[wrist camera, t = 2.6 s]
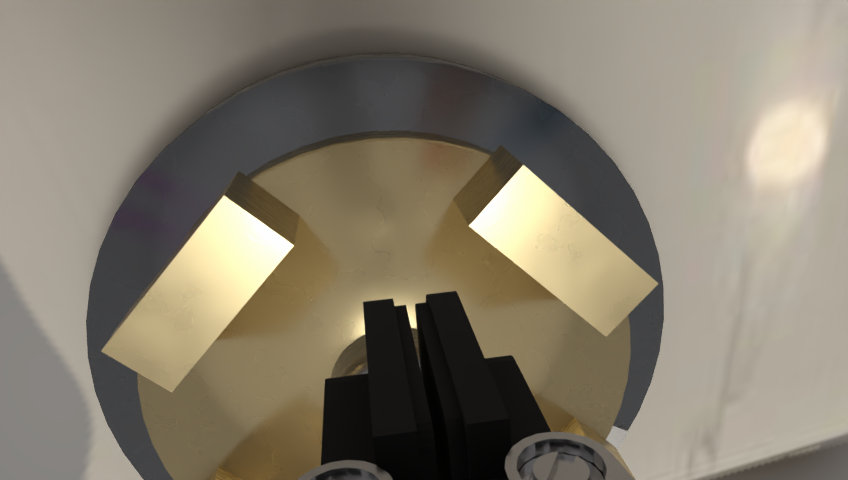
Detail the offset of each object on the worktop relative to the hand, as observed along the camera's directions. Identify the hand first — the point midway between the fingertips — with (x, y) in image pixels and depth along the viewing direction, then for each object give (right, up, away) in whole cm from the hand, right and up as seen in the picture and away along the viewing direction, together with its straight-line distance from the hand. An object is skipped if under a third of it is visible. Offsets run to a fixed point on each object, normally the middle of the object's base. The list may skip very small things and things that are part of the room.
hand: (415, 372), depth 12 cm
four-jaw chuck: (-1, -3, +16) cm, 16 cm away
